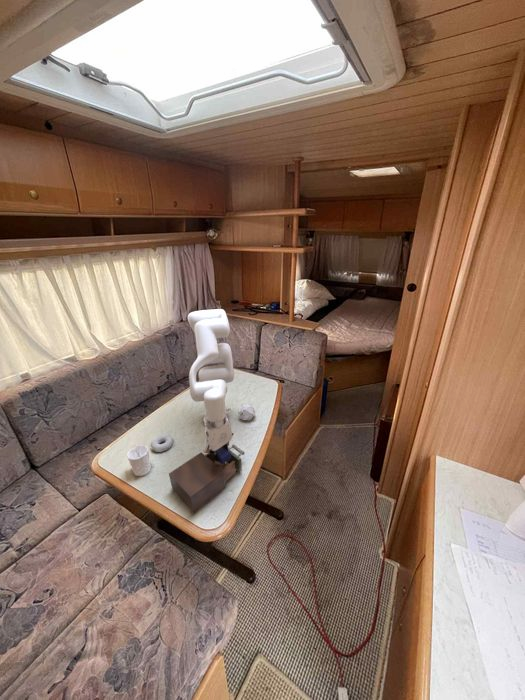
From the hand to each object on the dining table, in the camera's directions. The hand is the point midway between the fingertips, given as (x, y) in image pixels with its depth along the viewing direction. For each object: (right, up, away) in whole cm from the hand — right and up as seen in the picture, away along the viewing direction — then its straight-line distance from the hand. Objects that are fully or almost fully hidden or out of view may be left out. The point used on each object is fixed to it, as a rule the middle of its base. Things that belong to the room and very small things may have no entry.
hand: (220, 455), depth 111 cm
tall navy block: (0, 0, 0) cm, 0 cm away
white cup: (-34, -8, +5) cm, 36 cm away
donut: (-30, -2, +18) cm, 36 cm away
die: (+9, +6, +36) cm, 37 cm away
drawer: (+1, -7, +4) cm, 8 cm away
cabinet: (-8, -11, -4) cm, 15 cm away
